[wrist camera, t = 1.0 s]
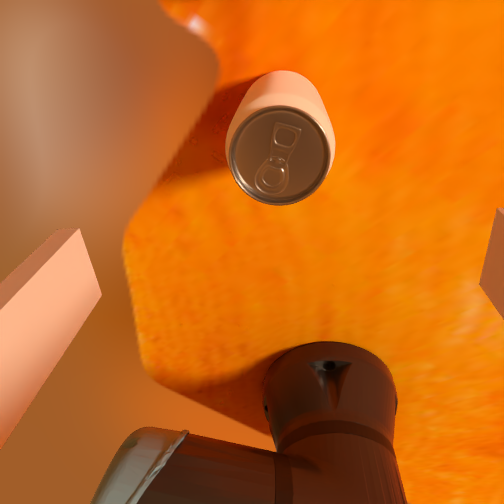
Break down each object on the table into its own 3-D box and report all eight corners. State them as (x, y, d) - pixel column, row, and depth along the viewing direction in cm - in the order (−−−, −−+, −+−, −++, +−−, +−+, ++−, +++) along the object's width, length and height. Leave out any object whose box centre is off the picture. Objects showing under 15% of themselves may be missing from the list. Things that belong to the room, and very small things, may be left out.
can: (233, 140, 34) (209, 195, 24) (253, 58, 31) (236, 80, 20) (306, 162, 35) (315, 225, 24) (334, 83, 31) (357, 117, 21)
